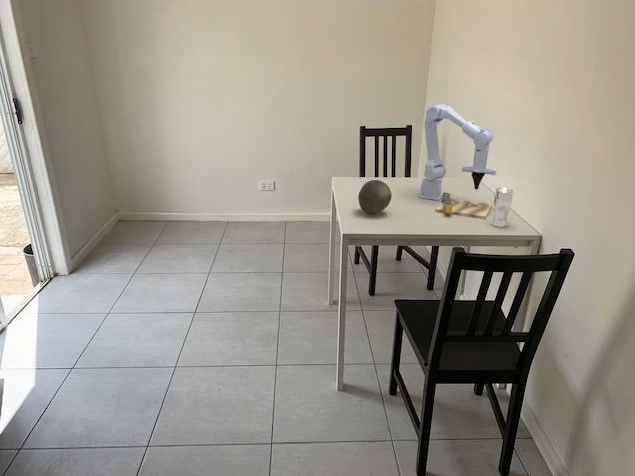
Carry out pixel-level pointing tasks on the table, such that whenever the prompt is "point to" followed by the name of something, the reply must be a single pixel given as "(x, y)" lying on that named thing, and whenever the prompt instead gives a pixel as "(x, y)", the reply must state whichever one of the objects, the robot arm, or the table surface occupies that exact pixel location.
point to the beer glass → (502, 206)
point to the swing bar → (447, 202)
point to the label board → (466, 208)
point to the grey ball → (374, 196)
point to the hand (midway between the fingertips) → (476, 188)
